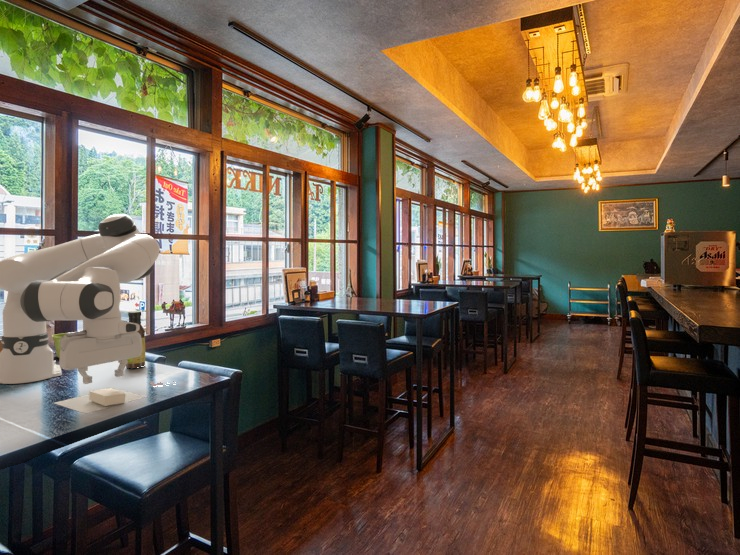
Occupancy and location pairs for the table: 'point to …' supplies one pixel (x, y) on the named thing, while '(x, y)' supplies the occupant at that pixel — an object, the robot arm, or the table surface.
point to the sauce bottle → (136, 318)
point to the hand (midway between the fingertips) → (103, 379)
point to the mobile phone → (159, 384)
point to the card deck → (107, 396)
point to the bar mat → (89, 406)
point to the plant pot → (57, 342)
